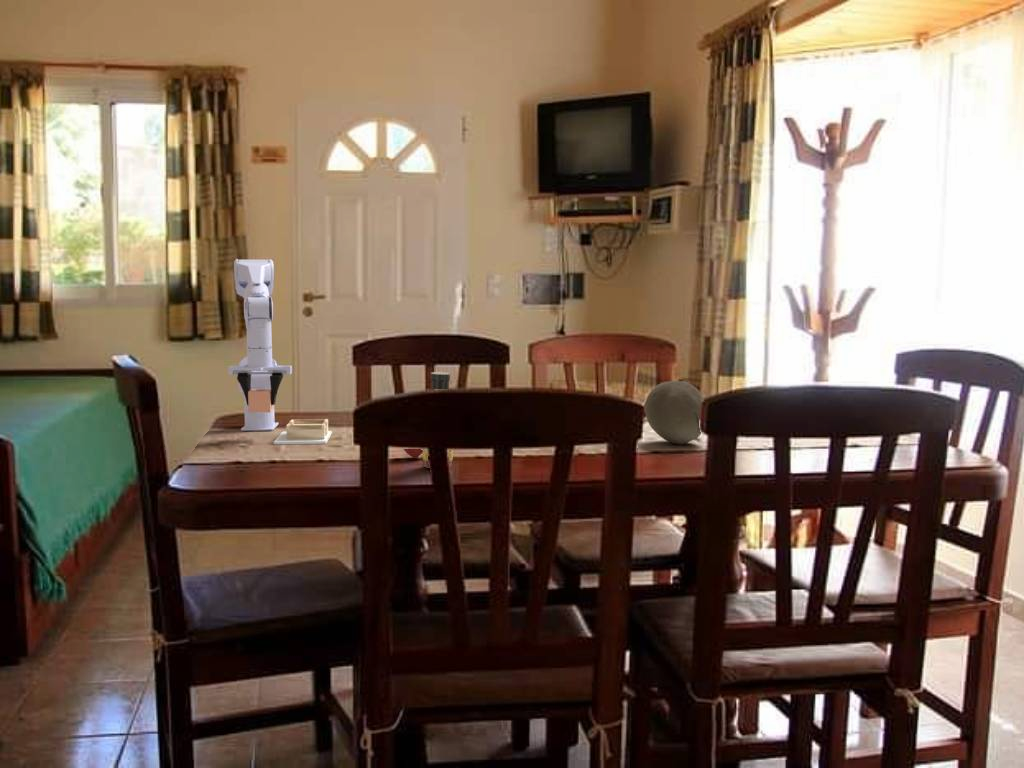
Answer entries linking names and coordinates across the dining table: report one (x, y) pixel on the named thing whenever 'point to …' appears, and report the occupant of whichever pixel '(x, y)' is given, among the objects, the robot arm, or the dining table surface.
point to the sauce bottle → (438, 382)
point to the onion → (414, 452)
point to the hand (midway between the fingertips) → (261, 404)
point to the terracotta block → (260, 400)
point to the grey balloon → (674, 411)
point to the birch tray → (307, 429)
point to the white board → (283, 440)
